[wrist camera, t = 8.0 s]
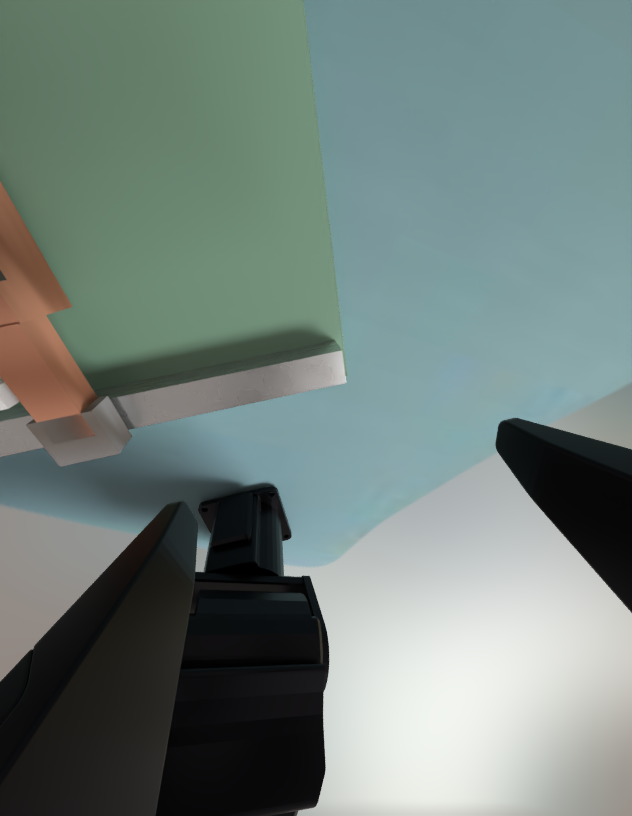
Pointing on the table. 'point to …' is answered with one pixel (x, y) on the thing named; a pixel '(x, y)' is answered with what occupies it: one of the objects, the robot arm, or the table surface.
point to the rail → (200, 390)
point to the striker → (47, 354)
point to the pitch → (169, 178)
